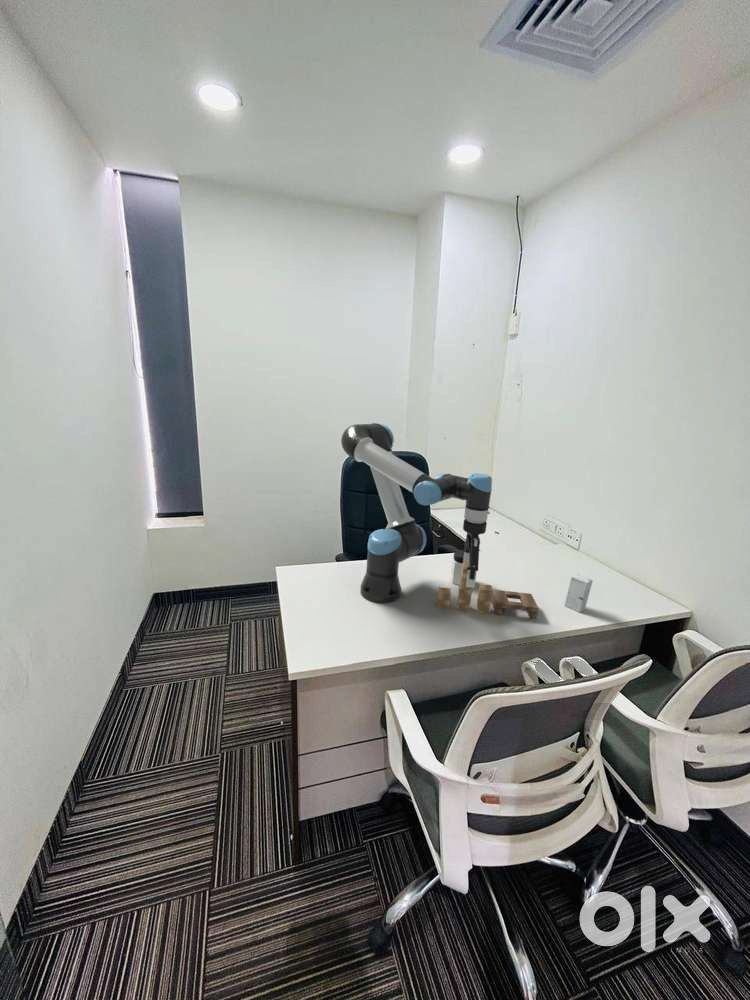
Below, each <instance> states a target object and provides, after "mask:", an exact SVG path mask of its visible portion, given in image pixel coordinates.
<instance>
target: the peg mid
mask: <svg viewBox="0 0 750 1000" xmlns="http://www.w3.org/2000/svg"><path fill="white" fill-rule="evenodd" d="M493 590H494V589H493V587H492V585H490V584H482V583H479V588H478V594H477V598H476V599H477V600H476V601H477V602H476V607H475V608H476V610H477V611H476V612H477V613H480V614H487V615H489V614H490V610H491V606H492V603H491V600H492V594H493Z"/></svg>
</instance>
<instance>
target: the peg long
mask: <svg viewBox="0 0 750 1000" xmlns="http://www.w3.org/2000/svg"><path fill="white" fill-rule="evenodd" d="M467 567H469V564H462V570H461V577H460V584H459V585H458V594H457V599H456V600H457V601H456V608H457V611H463V612H470V608H471V602H472V594H473V588H471V587H466V582H467V574H468V570H467Z"/></svg>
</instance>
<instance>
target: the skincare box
mask: <svg viewBox="0 0 750 1000" xmlns="http://www.w3.org/2000/svg"><path fill="white" fill-rule="evenodd" d="M592 585H593V580H592V579H590V578H589V577H586V576H584V575H581V574H579V573H576V574H574V575H572V576H571V578H570V582H569V586H568V589H567V592H566V593H567V594H566V596H565V601H564V606H565V607H567V608H569V609H571V610H573V611H575V612H577V613H581V612H583V611H585V610H586V607H587V603H588V601H589V600H588V599H589V597H590V592H591V588H592Z"/></svg>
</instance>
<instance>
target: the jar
mask: <svg viewBox="0 0 750 1000" xmlns="http://www.w3.org/2000/svg"><path fill="white" fill-rule="evenodd" d="M464 552H465V551H464V549H458V550H456V551H454V553H453V557H452V561H451V571H450V577H449V578H450V580H451V583H452V584H453V585H458V586H459V584H460V577H461V570H462V564H463V560H464ZM465 553H466V552H465Z"/></svg>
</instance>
